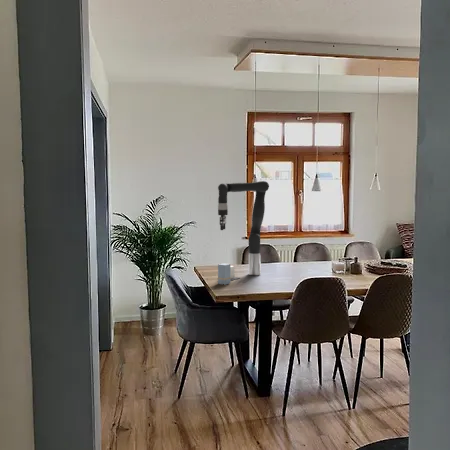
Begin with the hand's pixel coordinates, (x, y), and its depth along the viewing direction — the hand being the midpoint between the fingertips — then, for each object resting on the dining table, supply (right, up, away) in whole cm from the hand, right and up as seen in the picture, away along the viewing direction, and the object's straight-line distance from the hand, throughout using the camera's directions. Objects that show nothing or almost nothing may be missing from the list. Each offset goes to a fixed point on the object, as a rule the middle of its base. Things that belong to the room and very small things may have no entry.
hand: (222, 229), depth 366 cm
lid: (+4, -37, -12) cm, 39 cm away
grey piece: (+1, -39, -30) cm, 49 cm away
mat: (+4, -37, -12) cm, 39 cm away
